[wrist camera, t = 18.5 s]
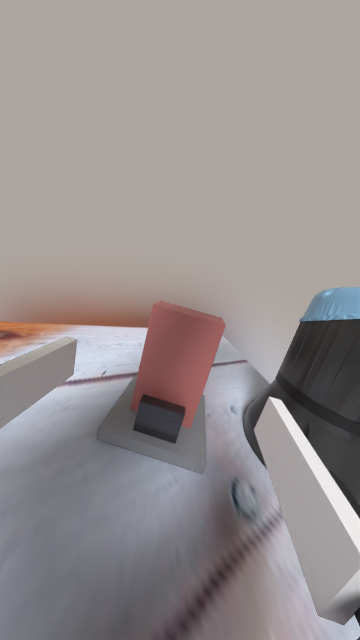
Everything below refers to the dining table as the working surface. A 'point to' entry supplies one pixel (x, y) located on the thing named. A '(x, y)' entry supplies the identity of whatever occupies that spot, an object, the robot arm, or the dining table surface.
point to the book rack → (157, 430)
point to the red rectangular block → (177, 357)
